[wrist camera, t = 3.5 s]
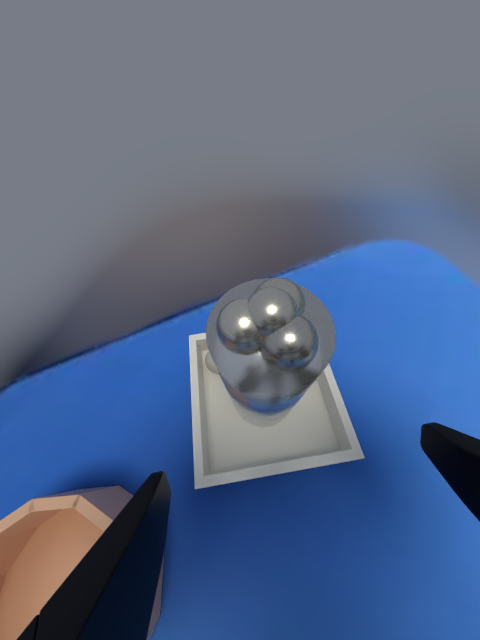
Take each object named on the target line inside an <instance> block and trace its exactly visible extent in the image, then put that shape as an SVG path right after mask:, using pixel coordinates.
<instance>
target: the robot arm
mask: <svg viewBox="0 0 480 640" xmlns="http://www.w3.org/2000/svg"><path fill="white" fill-rule="evenodd" d="M420 444H421V447H422V449H423V451H424V452H425V454H426V455H427V456H428V458H429V459H430V460H431V462H432V463H433V464H434V466H435V467H436V468H437V470H438V471H439V472H440V473H441V475H442V476H443V477H444V479H445V480H446V481H447V483H448V484H449V485H450V487H451V488H452V489H453V490H454V492H455V493H456V494H457V496H458V497H459V498H460V499H461V501H462V502H463V503H464V504H465V505H466V506H467V508H468V509H469V510H470V511H471V512H472V513H473V514H474V516H475V517H476V518H477V519H478V520H479V521H480V440H479V439H477V438H474V437H471V436H469V435H466V434H464V433H461V432H459V431H456V430H454V429H451V428H449V427H446V426H443V425H441V424H438V423H427V424H423V425H422V427H421V440H420ZM170 499H171V491H170V486H169V483H168V480H167V476H166V473H165V472H164V471H160V472H155V473H152V474H151V475H150V476H149V477H148V478H147V480H146V481H145V482H144V483H143V485H142V486H141V487H140V488H139V489H138V491H137V492H136V493H135V494H134V496H133V497H132V498H131V499H130V501H129V502H128V503H127V504H126V505H125V507H124V508H123V509H122V510H121V512H120V513H119V514H118V515H117V517H116V518H115V519H114V520H113V521H112V523H111V524H110V525H109V526H108V528H107V529H106V530H105V531H104V532H103V534H102V535H101V536H100V537H99V539H98V540H97V541H96V542H95V544H94V545H93V546H92V547H91V548H90V550H89V551H88V552H87V553H86V555H85V556H84V557H83V558H82V560H81V561H80V562H79V563H78V564H77V566H76V567H75V568H74V569H73V571H72V572H71V573H70V574H69V576H68V577H67V578H66V579H65V580H64V582H63V583H62V584H61V585H60V587H59V588H58V589H57V590H56V592H55V593H54V594H53V595H52V596H51V598H50V599H49V600H48V601H47V603H46V604H45V605H44V606H43V608H42V609H41V610H40V613H39V614H38V615H36V616H35V617H34V618H33V620H32V621H31V622H30V623H29V625H28V626H27V627H26V628H25V630H24V631H23V632H22V633H21V634H20V636H19V637H18V638H17V639H16V640H146V639H147V634H148V629H149V625H150V620H151V615H152V610H153V605H154V600H155V595H156V591H157V586H158V581H159V576H160V571H161V566H162V561H163V555H164V548H165V540H166V532H167V523H168V515H169V507H170Z"/></svg>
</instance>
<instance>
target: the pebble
mask: <svg viewBox="0 0 480 640" xmlns="http://www.w3.org/2000/svg"><path fill="white" fill-rule="evenodd" d="M205 364H206V366H207V368H208V369H209V370H210V371H211V372H213V373H216V374H219V372H218V370H217V368H216V366H215V364H214V362H213V359H212V357H211V355H210V352H209V351H208V352H207V354H206V357H205Z"/></svg>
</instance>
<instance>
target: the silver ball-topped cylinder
mask: <svg viewBox="0 0 480 640" xmlns="http://www.w3.org/2000/svg"><path fill="white" fill-rule="evenodd" d="M206 342H207V346H208V350H209V352H210V355H211V357H212V359H213V362H214V364H215V366H216V368H217V370H218V372H219V374H220V377H221V379H222V381H223V383H224V385H225V387H226V390H227V392H228V394H229V396H230V398H231V400H232V403H233V405H234V407H235V409H236V411H237V413H238V414H239V415H240V417H241V418H242V419H243V420H245V421H246V422H247V423H249V424H251V425H254V426H257V427H271V426H274V425H276V424H278V423H280V422H281V421H282V420H283V419H284V418H285V417H286V416H287V415H288V414H289V412H290V411H291V410H292V409H293V407H294V406H295V405H296V404H297V403H298V401H299V400H300V399H301V398H302V396H303V395H304V394H305V393H306V391H307V390H308V389H309V388H310V387H311V385H312V384H313V383H314V382H315V380H316V379H317V378H318V377H319V375H320V374H321V373H322V372H323V371H324V369H325V368H326V367H327V365H328V364H329V362H330V360H331V358H332V355H333V352H334V349H335V344H336V333H335V326H334V323H333V320H332V317H331V315H330V313H329V311H328V310H327V308H326V307H325V305H324V304H323V303H322V301H321V300H320V299H319V298H318V297H317V296H315V295H314V294H313V293H312V292H310V291H309V290H307V289H305V288H304V287H302V286H300V285H298V284H296V283H294V282H293V281H291V280H289V279H286V278H272V279H257V280H252V281H248V282H245V283H242V284H240V285H238V286H236V287H234V288H232V289H231V290H229V291H228V292H227V293H225V294H224V295H223V296H222V297H221V298H220V299H219V300H218V301H217V303H216V304H215V305H214V307H213V309H212V311H211V312H210V315H209V318H208V321H207V326H206Z"/></svg>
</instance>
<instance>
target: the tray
mask: <svg viewBox="0 0 480 640" xmlns="http://www.w3.org/2000/svg"><path fill="white" fill-rule="evenodd" d="M189 350H190V376H191V403H192V429H193V455H194V481H195V489H200V488H205V487H211V486H216V485H222V484H227V483H233V482H238V481H244V480H249V479H255V478H260V477H265V476H271V475H276V474H282V473H287V472H293V471H298V470H304V469H309V468H315V467H320V466H326V465H331V464H337V463H342V462H347V461H353V460H358V459H364V458H365V457H364V455H363V452H362V449H361V447H360V444H359V441H358V439H357V436H356V433H355V431H354V428H353V426H352V423H351V420H350V418H349V415H348V412H347V410H346V407H345V404H344V402H343V399H342V397H341V394H340V391H339V389H338V386H337V383H336V381H335V378H334V375H333V373H332V370H331V368H330V365H329V364H328V365H327V367H326V368H325V369H324V371H323V372H322V373H321V374H320V375H319V377H318V378H317V379H316V380H315V382H314V383H313V384H312V385H311V387H310V388H309V389H308V390H307V391H306V393H305V394H304V395H303V396H302V398H301V399H300V400H299V401H298V403H297V404H296V405H295V406H294V407H293V409H292V410H291V411H290V412H289V414H288V415H287V416H286V417H285V418H284V419H283V420H282V421H281V422H280V423H278V424H276V425H274V426H271V427H257V426H254V425H251V424H249V423H247V422H246V421H245V420H243V419H242V418H241V417H240V415H239V414H238V413H237V411H236V409H235V407H234V405H233V403H232V400H231V398H230V396H229V394H228V392H227V390H226V387H225V385H224V383H223V381H222V379H221V377H220V374H216V373H213V372H211V371H210V370H209V369H208V368H207V366H206V364H205V357H206V354H207V352H208V351H209V350H208V346H207V342H206V333H202V334H196V335H189Z"/></svg>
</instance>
